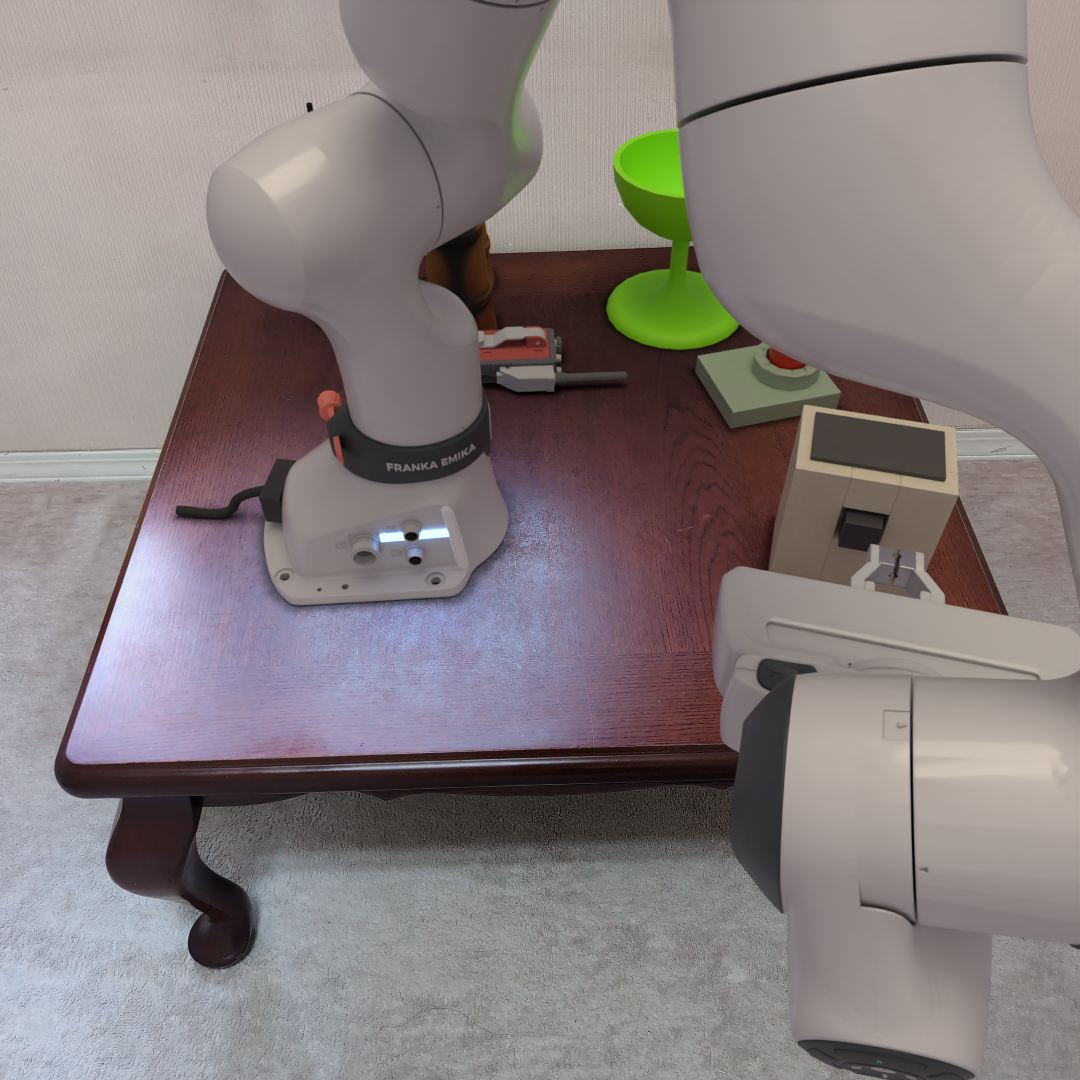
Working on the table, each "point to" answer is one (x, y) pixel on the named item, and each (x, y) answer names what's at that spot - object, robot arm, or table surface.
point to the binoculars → (466, 273)
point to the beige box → (862, 491)
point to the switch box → (761, 386)
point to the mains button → (783, 360)
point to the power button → (860, 529)
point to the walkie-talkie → (528, 360)
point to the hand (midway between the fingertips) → (893, 554)
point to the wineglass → (671, 294)
